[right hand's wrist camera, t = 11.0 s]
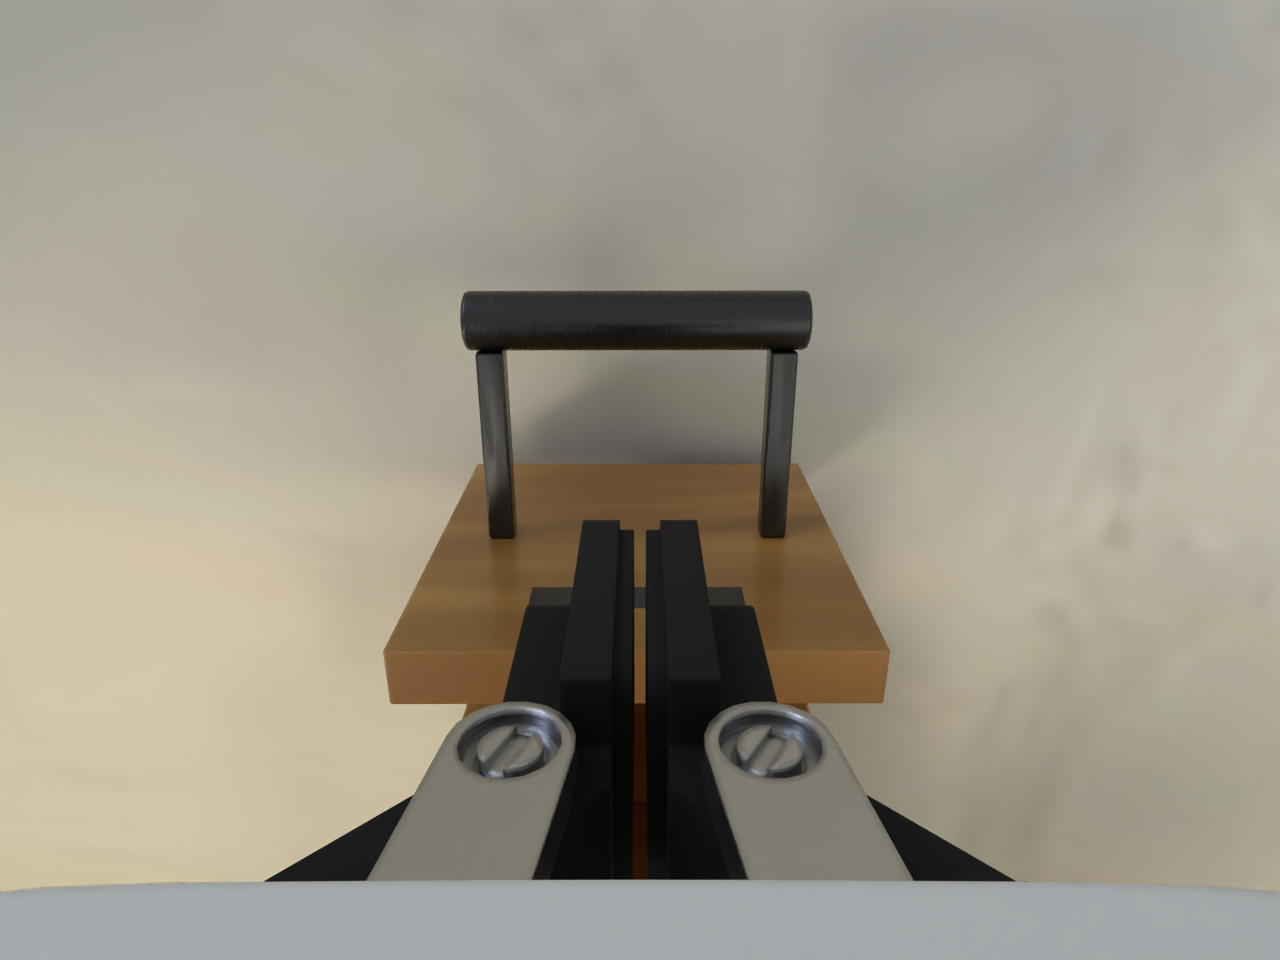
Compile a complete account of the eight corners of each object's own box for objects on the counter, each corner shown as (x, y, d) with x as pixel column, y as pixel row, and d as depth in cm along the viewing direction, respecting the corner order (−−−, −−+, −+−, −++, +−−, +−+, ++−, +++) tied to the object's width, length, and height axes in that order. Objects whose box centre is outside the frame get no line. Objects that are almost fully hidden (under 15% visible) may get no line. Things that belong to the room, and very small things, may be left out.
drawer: (461, 262, 22) (340, 343, 13) (813, 261, 22) (930, 342, 13) (503, 794, 29) (441, 1088, 20) (773, 793, 29) (834, 1087, 20)
